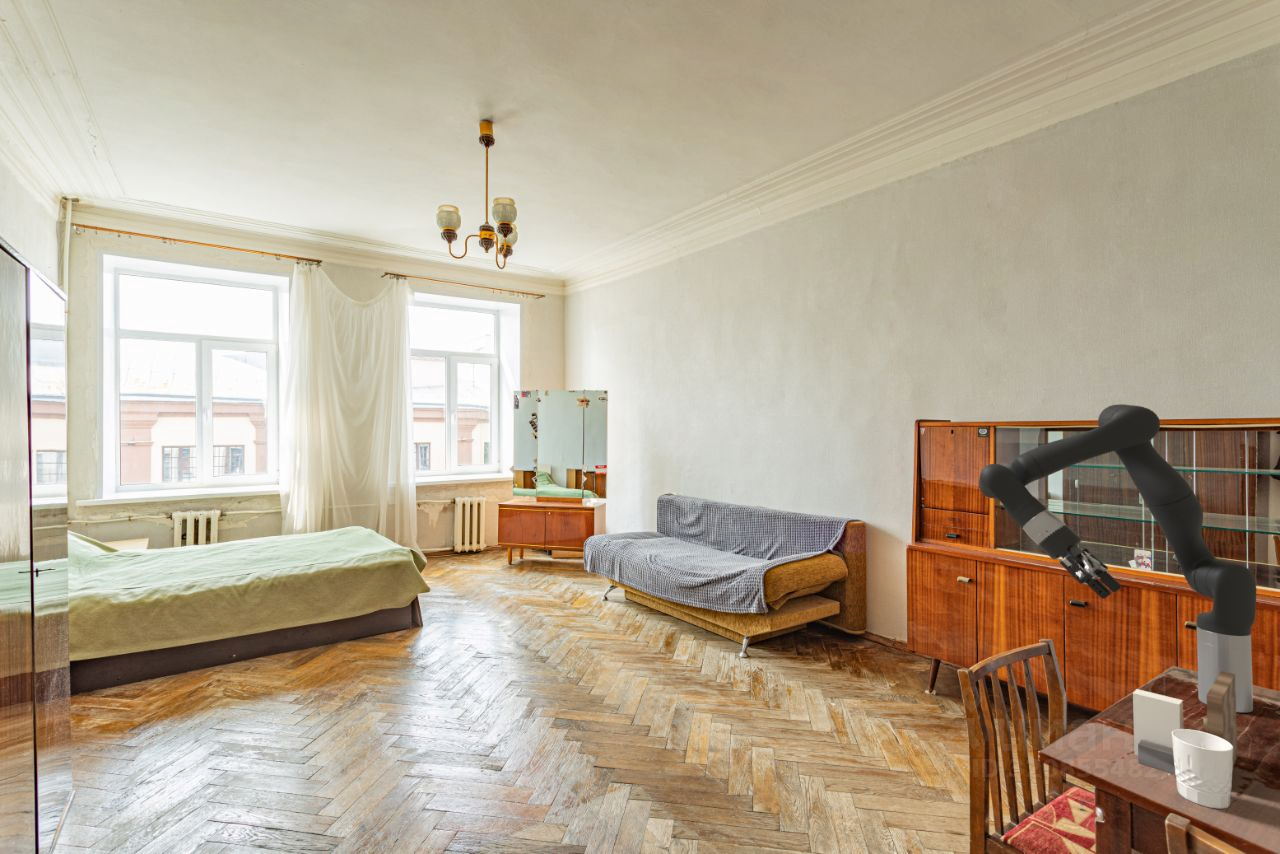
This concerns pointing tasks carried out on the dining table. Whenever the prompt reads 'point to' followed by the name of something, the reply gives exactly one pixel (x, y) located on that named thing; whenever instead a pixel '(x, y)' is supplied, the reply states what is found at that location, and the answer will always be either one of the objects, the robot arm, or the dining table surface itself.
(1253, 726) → the dining table surface
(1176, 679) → the dining table surface
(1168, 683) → the dining table surface
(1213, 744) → the white cup
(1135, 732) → the plain white rectangular block
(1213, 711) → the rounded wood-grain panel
